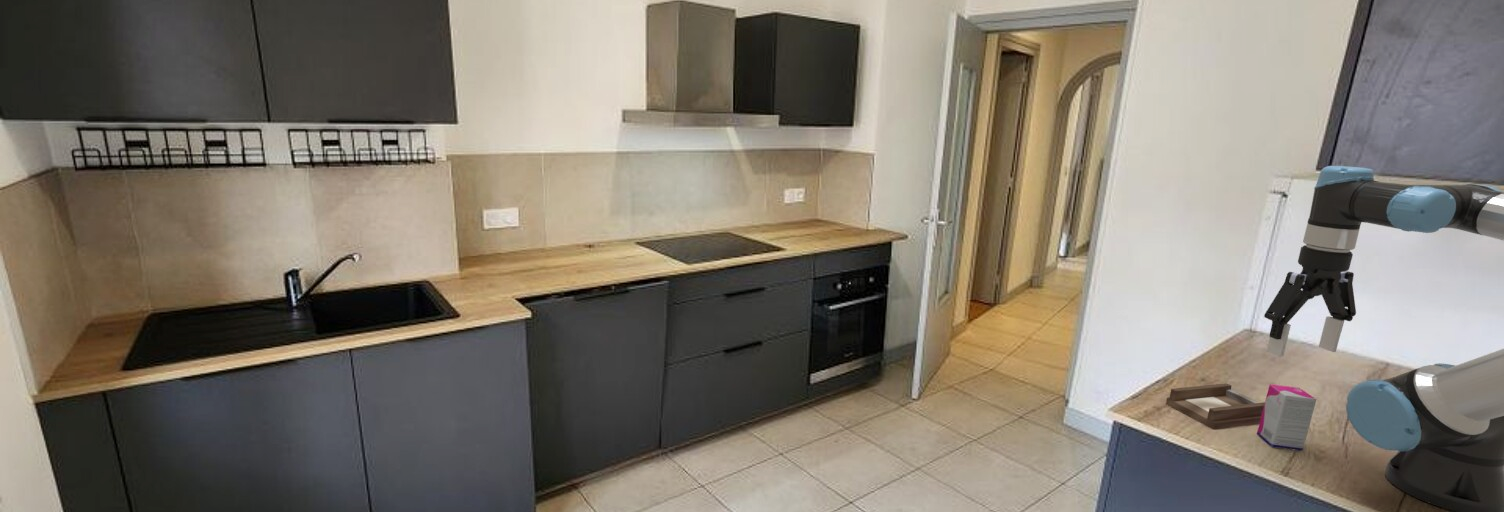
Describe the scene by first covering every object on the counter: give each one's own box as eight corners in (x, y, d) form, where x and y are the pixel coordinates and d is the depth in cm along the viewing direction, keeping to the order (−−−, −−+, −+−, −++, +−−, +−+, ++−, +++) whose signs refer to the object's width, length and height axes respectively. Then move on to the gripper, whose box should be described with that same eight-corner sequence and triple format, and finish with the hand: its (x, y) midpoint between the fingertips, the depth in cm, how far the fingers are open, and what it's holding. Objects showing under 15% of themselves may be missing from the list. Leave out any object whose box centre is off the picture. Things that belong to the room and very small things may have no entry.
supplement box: (1304, 451, 129) (1317, 399, 126) (1271, 447, 130) (1283, 395, 127) (1287, 436, 135) (1299, 386, 132) (1255, 433, 136) (1267, 383, 133)
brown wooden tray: (1271, 422, 141) (1275, 405, 140) (1213, 429, 137) (1217, 412, 136) (1221, 397, 152) (1224, 382, 151) (1165, 403, 148) (1169, 387, 147)
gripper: (1354, 241, 129) (1328, 340, 134) (1256, 245, 123) (1233, 348, 128) (1398, 250, 122) (1369, 354, 127) (1297, 254, 116) (1271, 363, 121)
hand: (1301, 351), depth 128 cm, fingers open, 13 cm apart
